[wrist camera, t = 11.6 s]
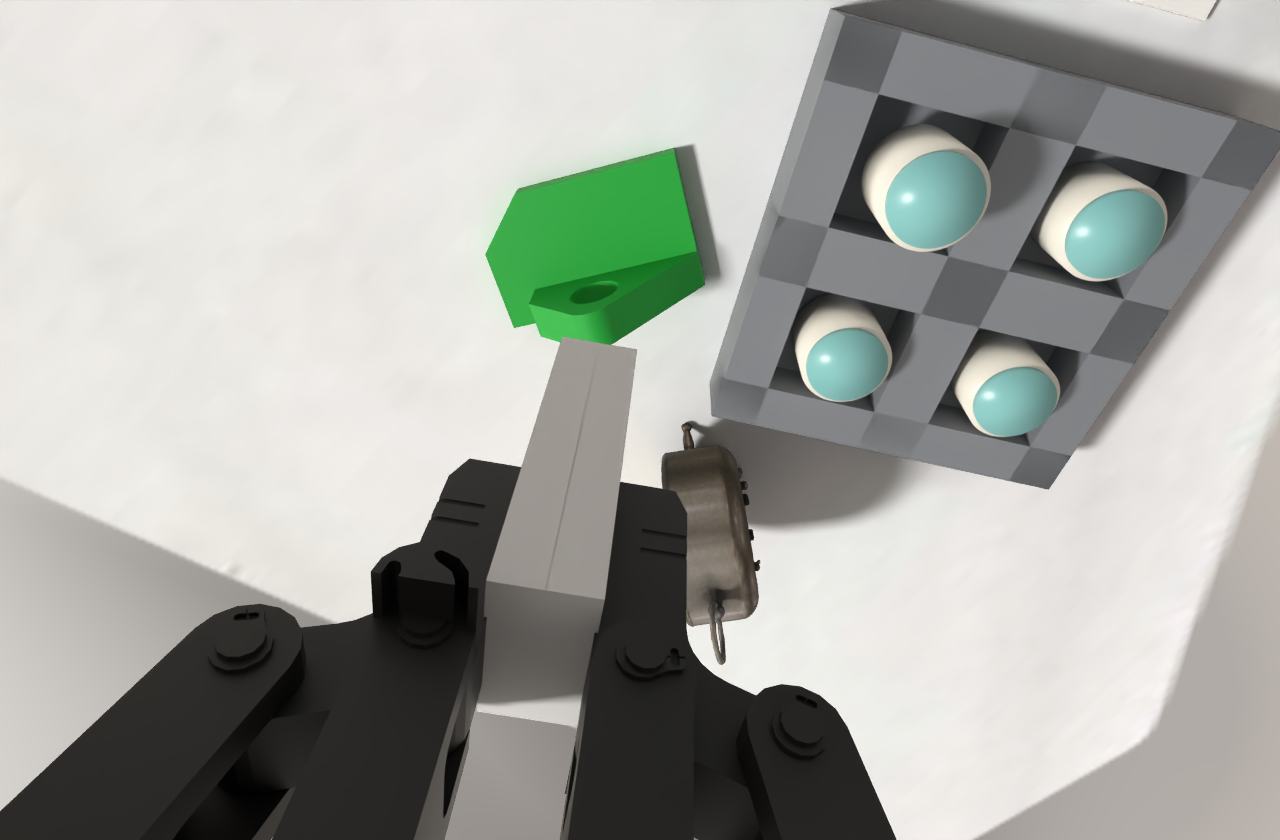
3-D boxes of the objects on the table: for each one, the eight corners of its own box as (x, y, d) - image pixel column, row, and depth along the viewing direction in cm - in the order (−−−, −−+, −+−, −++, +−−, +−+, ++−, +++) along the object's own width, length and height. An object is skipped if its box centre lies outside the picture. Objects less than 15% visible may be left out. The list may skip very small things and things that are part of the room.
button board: (830, 8, 37) (844, 16, 33) (1237, 116, 39) (1289, 134, 35) (709, 382, 49) (711, 416, 45) (1024, 452, 50) (1048, 489, 47)
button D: (808, 284, 43) (819, 316, 40) (890, 303, 44) (909, 337, 40) (780, 358, 46) (789, 394, 42) (857, 375, 46) (872, 413, 43)
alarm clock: (659, 412, 50) (650, 590, 37) (739, 401, 49) (760, 579, 36) (684, 533, 56) (684, 726, 42) (756, 525, 55) (780, 719, 42)
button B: (969, 321, 44) (995, 356, 41) (1048, 339, 45) (1080, 376, 41) (933, 391, 47) (954, 430, 43) (1007, 408, 47) (1034, 448, 44)
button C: (884, 112, 36) (907, 133, 32) (981, 137, 37) (1014, 160, 33) (846, 212, 39) (863, 241, 35) (936, 234, 39) (962, 265, 36)
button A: (1057, 151, 39) (1096, 174, 35) (1146, 174, 39) (1194, 199, 36) (1010, 241, 41) (1042, 271, 38) (1093, 262, 42) (1133, 293, 38)
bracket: (674, 146, 41) (672, 180, 35) (704, 275, 45) (706, 325, 39) (472, 199, 43) (440, 239, 38) (518, 317, 47) (495, 370, 42)
